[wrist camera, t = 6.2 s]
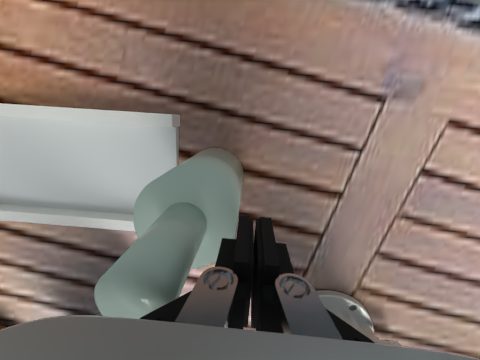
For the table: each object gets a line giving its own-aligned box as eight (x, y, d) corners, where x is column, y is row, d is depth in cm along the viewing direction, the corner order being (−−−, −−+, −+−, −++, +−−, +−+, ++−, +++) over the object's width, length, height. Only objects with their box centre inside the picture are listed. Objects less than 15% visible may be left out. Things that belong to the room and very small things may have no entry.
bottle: (245, 149, 24) (229, 225, 7) (242, 204, 26) (221, 377, 8) (187, 145, 24) (27, 209, 7) (187, 200, 26) (59, 360, 9)
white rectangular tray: (180, 114, 23) (172, 114, 21) (181, 224, 27) (174, 234, 24) (-28, 101, 24) (-59, 99, 22) (-2, 209, 28) (-26, 218, 25)
